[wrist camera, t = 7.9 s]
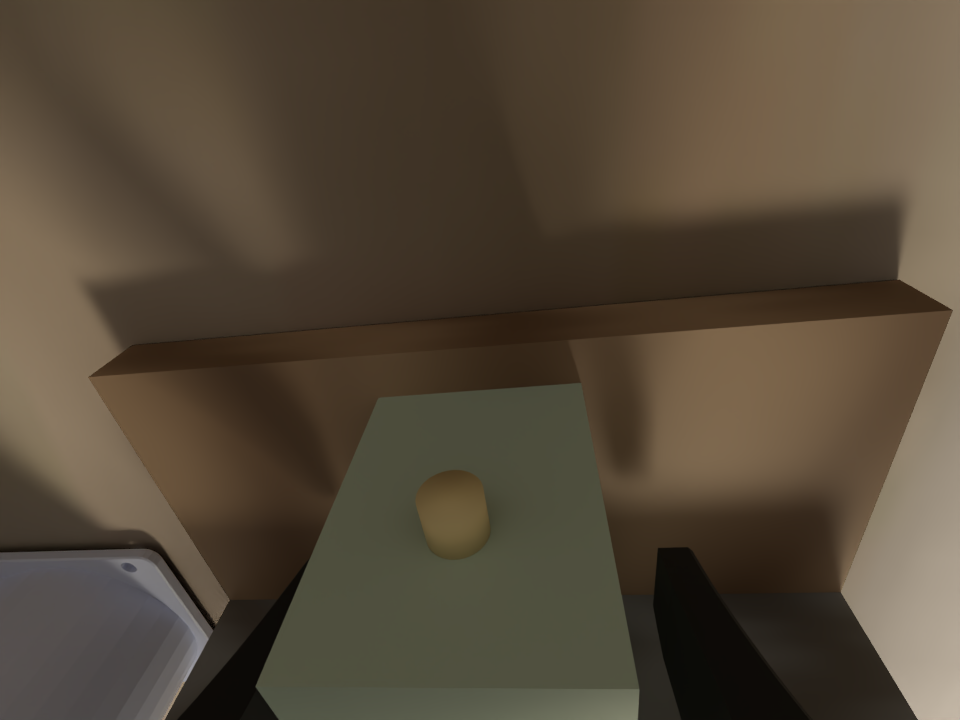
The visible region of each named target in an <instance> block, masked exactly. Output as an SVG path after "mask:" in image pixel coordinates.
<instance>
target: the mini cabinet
mask: <svg viewBox="0 0 960 720" xmlns="http://www.w3.org/2000/svg"><path fill="white" fill-rule="evenodd" d="M255 687H256V688H257V690H258V691H259V692H260V694H261V695H262V697H263V698H264V699H265V701H266V702H267V704H268V705H269V706H270V708H271V709H272V711H273V712H274V713H275V715H276V716H277V718H278V719H279V720H638V707H639V684H638V679H637V674H636V668H635V663H634V658H633V653H632V647H631V642H630V637H629V632H628V626H627V621H626V616H625V611H624V605H623V600H622V595H621V590H620V584H619V579H618V574H617V569H616V564H615V558H614V553H613V548H612V543H611V537H610V532H609V527H608V522H607V516H606V511H605V506H604V501H603V495H602V490H601V485H600V480H599V474H598V469H597V464H596V459H595V453H594V448H593V443H592V438H591V432H590V427H589V422H588V417H587V411H586V406H585V401H584V396H583V390H582V385H581V383H573V384H559V385H546V386H532V387H518V388H505V389H491V390H477V391H464V392H450V393H436V394H423V395H409V396H395V397H382V398H378V400H377V402H376V405H375V407H374V409H373V412H372V414H371V416H370V419H369V421H368V424H367V426H366V428H365V431H364V433H363V435H362V438H361V440H360V442H359V445H358V447H357V449H356V452H355V454H354V456H353V459H352V461H351V463H350V466H349V468H348V470H347V473H346V475H345V478H344V480H343V482H342V485H341V487H340V489H339V492H338V494H337V496H336V499H335V501H334V503H333V506H332V508H331V510H330V513H329V515H328V517H327V520H326V522H325V524H324V527H323V529H322V532H321V534H320V536H319V539H318V541H317V543H316V546H315V548H314V550H313V553H312V555H311V557H310V560H309V562H308V564H307V567H306V569H305V571H304V574H303V576H302V578H301V581H300V583H299V586H298V588H297V590H296V593H295V595H294V597H293V600H292V602H291V604H290V607H289V609H288V611H287V614H286V616H285V618H284V621H283V623H282V625H281V628H280V630H279V632H278V635H277V637H276V640H275V642H274V644H273V647H272V649H271V651H270V654H269V656H268V658H267V661H266V663H265V665H264V668H263V670H262V672H261V675H260V677H259V679H258V682H257V684H256V686H255Z"/></svg>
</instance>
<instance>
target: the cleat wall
mask: <svg viewBox="0 0 960 720" xmlns="http://www.w3.org/2000/svg"><path fill="white" fill-rule="evenodd" d="M952 311H953V310H952V309H950V308H948V307H946V306H945V305H943V304H941V303H939V302H938V301H936V300H934V299H932V298H930V297H929V296H927V295H925V294H923V293H922V292H920V291H918V290H916V289H915V288H913V287H911V286H909V285H908V284H906V283H904V282H902V281H901V280H890V281H879V282H867V283H855V284H844V285H832V286H820V287H809V288H797V289H785V290H774V291H762V292H750V293H739V294H727V295H715V296H704V297H692V298H680V299H669V300H657V301H645V302H634V303H622V304H610V305H599V306H587V307H575V308H564V309H552V310H540V311H529V312H517V313H505V314H493V315H482V316H470V317H458V318H447V319H435V320H423V321H412V322H400V323H388V324H377V325H365V326H353V327H342V328H330V329H318V330H307V331H295V332H283V333H272V334H260V335H248V336H237V337H225V338H213V339H202V340H190V341H178V342H167V343H155V344H143V345H132V346H131V347H129V348H128V349H127V350H125V351H124V352H122V353H121V354H120V355H118V356H117V357H116V358H114V359H113V360H111V361H110V362H109V363H107V364H106V365H104V366H103V367H102V368H100V369H99V370H98V371H96V372H95V373H93V374H92V375H91V376H89V377H88V378H89V379H90V381H91V382H92V384H93V385H94V387H95V389H96V390H97V392H98V393H99V395H100V396H101V398H102V400H103V401H104V403H105V404H106V406H107V407H108V409H109V411H110V412H111V414H112V415H113V417H114V418H115V420H116V422H117V423H118V425H119V426H120V428H121V429H122V431H123V433H124V434H125V436H126V437H127V439H128V440H129V442H130V444H131V445H132V447H133V448H134V450H135V451H136V453H137V455H138V456H139V458H140V459H141V461H142V462H143V464H144V466H145V467H146V469H147V470H148V472H149V473H150V475H151V477H152V478H153V480H154V481H155V483H156V484H157V486H158V488H159V489H160V491H161V492H162V494H163V495H164V497H165V499H166V500H167V502H168V503H169V505H170V506H171V508H172V510H173V511H174V513H175V514H176V516H177V517H178V519H179V521H180V522H181V524H182V525H183V527H184V528H185V530H186V532H187V533H188V535H189V536H190V538H191V539H192V541H193V543H194V544H195V546H196V547H197V549H198V550H199V552H200V554H201V555H202V557H203V558H204V560H205V561H206V563H207V565H208V566H209V568H210V569H211V571H212V572H213V574H214V576H215V577H216V579H217V580H218V582H219V583H220V585H221V587H222V588H223V590H224V591H225V593H226V594H227V596H228V598H229V599H230V601H229V603H228V604H227V606H226V608H225V610H224V612H223V614H222V616H221V617H220V619H219V621H218V623H217V625H216V627H215V628H214V630H213V632H212V634H211V636H210V638H209V640H208V641H207V643H206V645H205V647H204V649H203V651H202V652H201V654H200V656H199V658H198V660H197V662H196V663H195V665H194V667H193V669H192V671H191V673H190V675H189V676H188V678H187V680H186V682H185V684H184V686H183V687H182V689H181V691H180V693H179V695H178V697H177V698H176V700H175V702H174V704H173V706H172V708H171V710H170V711H169V713H168V715H167V717H166V719H165V720H177V719H178V718H179V717H180V715H181V714H182V713H183V712H184V711H185V710H186V709H187V708H188V707H189V706H190V704H191V703H192V702H193V701H194V700H195V699H196V698H197V697H198V695H199V694H200V693H201V692H202V691H203V690H204V688H205V687H206V686H207V685H208V684H209V683H210V682H211V680H212V679H213V678H214V677H215V676H216V675H217V673H218V672H219V671H220V670H221V669H222V668H223V666H224V665H225V664H226V663H227V662H228V661H229V659H230V658H231V657H232V656H233V655H234V653H235V652H236V651H237V650H238V648H239V647H240V646H241V645H242V643H243V642H244V641H245V640H246V638H247V637H248V636H249V635H250V633H251V632H252V631H253V630H254V628H255V627H256V626H257V625H258V623H259V622H260V621H261V620H262V618H263V617H264V616H265V615H266V613H267V612H268V611H269V609H270V608H271V607H272V606H273V604H274V603H275V602H276V600H277V599H278V598H279V596H280V595H281V594H282V593H283V591H284V590H285V589H286V587H287V586H288V585H289V583H290V582H291V581H292V579H293V578H294V577H295V576H296V574H297V573H298V572H299V570H300V569H301V568H302V566H303V565H304V564H305V563H306V561H307V560H308V559H309V558H310V557H311V555H312V553H313V550H314V548H315V546H316V543H317V541H318V539H319V536H320V534H321V532H322V529H323V527H324V524H325V522H326V520H327V517H328V515H329V513H330V510H331V508H332V506H333V503H334V501H335V499H336V496H337V494H338V492H339V489H340V487H341V485H342V482H343V480H344V478H345V475H346V473H347V470H348V468H349V466H350V463H351V461H352V459H353V456H354V454H355V452H356V449H357V447H358V445H359V442H360V440H361V438H362V435H363V433H364V431H365V428H366V426H367V424H368V421H369V419H370V416H371V414H372V412H373V409H374V407H375V405H376V402H377V400H378V398H382V397H395V396H409V395H423V394H436V393H450V392H464V391H477V390H491V389H505V388H518V387H532V386H546V385H559V384H573V383H581V385H582V390H583V396H584V401H585V406H586V411H587V417H588V422H589V427H590V432H591V438H592V443H593V448H594V453H595V459H596V464H597V469H598V474H599V480H600V485H601V490H602V495H603V501H604V506H605V511H606V516H607V522H608V527H609V532H610V537H611V543H612V548H613V553H614V558H615V564H616V569H617V574H618V579H619V584H620V590H621V595H622V600H623V605H624V611H625V616H626V621H627V626H628V632H629V637H630V642H631V647H632V653H633V658H634V663H635V668H636V674H637V679H638V684H639V707H638V720H681V717H680V714H679V710H678V707H677V703H676V700H675V697H674V693H673V690H672V687H671V683H670V680H669V676H668V673H667V669H666V666H665V663H664V659H663V655H662V650H661V645H660V640H659V635H658V630H657V625H656V619H655V614H654V609H653V599H654V587H655V576H656V564H657V552H658V548H673V547H688V548H690V549H691V550H692V551H693V552H694V554H695V556H696V558H697V559H698V561H699V563H700V564H701V566H702V568H703V569H704V571H705V573H706V574H707V576H708V577H709V579H710V581H711V582H712V584H713V585H714V587H715V588H716V590H717V591H718V593H719V594H720V596H721V597H722V599H723V600H724V602H725V603H726V605H727V606H728V608H729V609H730V611H731V612H732V614H733V615H734V617H735V618H736V620H737V621H738V622H739V624H740V625H741V627H742V628H743V630H744V631H745V632H746V634H747V635H748V636H749V638H750V639H751V640H752V642H753V643H754V645H755V646H756V647H757V649H758V650H759V651H760V653H761V654H762V655H763V657H764V658H765V660H766V661H767V662H768V664H769V665H770V666H771V668H772V669H773V670H774V672H775V673H776V674H777V675H778V677H779V678H780V679H781V681H782V682H783V683H784V685H785V686H786V687H787V688H788V690H789V691H790V692H791V693H792V695H793V696H794V697H795V698H796V700H797V701H798V702H799V703H800V705H801V706H802V707H803V708H804V710H805V711H806V712H807V713H808V715H809V716H810V717H811V718H812V719H813V720H918V719H917V718H916V716H915V714H914V713H913V711H912V709H911V708H910V706H909V704H908V703H907V701H906V699H905V698H904V696H903V695H902V693H901V691H900V690H899V688H898V686H897V685H896V683H895V681H894V680H893V678H892V676H891V675H890V673H889V671H888V670H887V668H886V667H885V665H884V663H883V662H882V660H881V658H880V657H879V655H878V653H877V652H876V650H875V648H874V647H873V645H872V643H871V642H870V640H869V638H868V637H867V635H866V634H865V632H864V630H863V629H862V627H861V625H860V624H859V622H858V620H857V619H856V617H855V615H854V614H853V612H852V610H851V609H850V607H849V606H848V604H847V602H846V601H845V599H844V597H843V596H842V594H841V590H842V587H843V585H844V582H845V580H846V577H847V575H848V572H849V570H850V567H851V565H852V562H853V560H854V557H855V555H856V552H857V550H858V547H859V545H860V542H861V540H862V537H863V535H864V532H865V530H866V527H867V525H868V522H869V519H870V517H871V514H872V512H873V509H874V507H875V504H876V502H877V499H878V497H879V494H880V492H881V489H882V487H883V484H884V482H885V479H886V477H887V474H888V472H889V469H890V467H891V464H892V462H893V459H894V457H895V454H896V452H897V449H898V447H899V444H900V442H901V439H902V437H903V434H904V432H905V429H906V427H907V424H908V422H909V419H910V417H911V414H912V412H913V409H914V406H915V404H916V401H917V399H918V396H919V394H920V391H921V389H922V386H923V384H924V381H925V379H926V376H927V374H928V371H929V369H930V366H931V364H932V361H933V359H934V356H935V354H936V351H937V349H938V346H939V344H940V341H941V339H942V336H943V334H944V331H945V329H946V326H947V324H948V321H949V319H950V316H951V314H952Z"/></svg>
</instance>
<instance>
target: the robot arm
mask: <svg viewBox="0 0 960 720" xmlns="http://www.w3.org/2000/svg"><path fill="white" fill-rule="evenodd" d="M309 560H310V558H309V559H308V560H307V561H306V563H305V564H304V565H303V566H302V568H301V569H300V570H299V572H298V573H297V574H296V576H295V577H294V578H293V579H292V581H291V582H290V583H289V585H288V586H287V587H286V589H285V590H284V591H283V593H282V594H281V595H280V596H279V598H278V599H277V600H276V602H275V603H274V604H273V606H272V607H271V608H270V609H269V611H268V612H267V613H266V615H265V616H264V617H263V618H262V620H261V621H260V622H259V623H258V625H257V626H256V627H255V628H254V630H253V631H252V632H251V633H250V635H249V636H248V637H247V638H246V640H245V641H244V642H243V643H242V645H241V646H240V647H239V648H238V650H237V651H236V652H235V653H234V655H233V656H232V657H231V658H230V659H229V661H228V662H227V663H226V664H225V665H224V666H223V668H222V669H221V670H220V671H219V672H218V673H217V675H216V676H215V677H214V678H213V679H212V680H211V682H210V683H209V684H208V685H207V686H206V687H205V688H204V690H203V691H202V692H201V693H200V694H199V695H198V697H197V698H196V699H195V700H194V701H193V702H192V703H191V704H190V706H189V707H188V708H187V709H186V710H185V711H184V712H183V713H182V714H181V715H180V717H179V718H178V719H177V720H279V719H278V718H277V716H276V715H275V713H274V712H273V711H272V709H271V708H270V706H269V705H268V704H267V702H266V701H265V699H264V698H263V697H262V695H261V694H260V692H259V691H258V690H257V688H256V687H255V686H256V684H257V682H258V679H259V677H260V675H261V672H262V670H263V668H264V665H265V663H266V661H267V658H268V656H269V654H270V651H271V649H272V647H273V644H274V642H275V640H276V637H277V635H278V632H279V630H280V628H281V625H282V623H283V621H284V618H285V616H286V614H287V611H288V609H289V607H290V604H291V602H292V600H293V597H294V595H295V593H296V590H297V588H298V586H299V583H300V581H301V578H302V576H303V574H304V571H305V569H306V567H307V564H308V562H309ZM653 609H654V614H655V619H656V625H657V630H658V635H659V640H660V645H661V650H662V655H663V659H664V663H665V666H666V669H667V673H668V676H669V680H670V683H671V687H672V690H673V693H674V697H675V700H676V703H677V707H678V710H679V714H680V717H681V720H813V719H812V718H811V717H810V716H809V715H808V713H807V712H806V711H805V710H804V708H803V707H802V706H801V705H800V703H799V702H798V701H797V700H796V698H795V697H794V696H793V695H792V693H791V692H790V691H789V690H788V688H787V687H786V686H785V685H784V683H783V682H782V681H781V679H780V678H779V677H778V675H777V674H776V673H775V672H774V670H773V669H772V668H771V666H770V665H769V664H768V662H767V661H766V660H765V658H764V657H763V655H762V654H761V653H760V651H759V650H758V649H757V647H756V646H755V645H754V643H753V642H752V640H751V639H750V638H749V636H748V635H747V634H746V632H745V631H744V630H743V628H742V627H741V625H740V624H739V622H738V621H737V620H736V618H735V617H734V615H733V614H732V612H731V611H730V609H729V608H728V606H727V605H726V603H725V602H724V600H723V599H722V597H721V596H720V594H719V593H718V591H717V590H716V588H715V587H714V585H713V584H712V582H711V581H710V579H709V577H708V576H707V574H706V573H705V571H704V569H703V568H702V566H701V564H700V563H699V561H698V559H697V558H696V556H695V554H694V552H693V551H692V550H691V549H690V548H688V547H673V548H658V552H657V564H656V576H655V587H654V599H653ZM212 632H213V629H212V628H211V627H210V625H209V624H208V622H207V621H206V619H205V618H204V617H203V615H202V614H201V612H200V611H199V610H198V608H197V607H196V605H195V604H194V602H193V601H192V600H191V598H190V597H189V595H188V594H187V592H186V591H185V590H184V588H183V587H182V585H181V584H180V582H179V581H178V580H177V578H176V577H175V575H174V574H173V572H172V571H171V570H170V568H169V567H168V565H167V564H166V562H165V561H164V560H163V558H162V557H161V556H160V555H159V554H158V553H156V552H155V551H153V550H150V549H111V550H74V551H38V552H1V553H0V720H162V719H163V717H164V715H165V713H166V711H167V709H168V708H169V706H170V704H171V702H172V700H173V698H174V697H175V695H176V693H177V691H178V689H179V687H180V686H181V684H182V682H186V680H187V678H188V676H189V675H190V673H191V671H192V669H193V667H194V665H195V663H196V662H197V660H198V658H199V656H200V654H201V652H202V651H203V649H204V647H205V645H206V643H207V641H208V640H209V638H210V636H211V634H212Z"/></svg>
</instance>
